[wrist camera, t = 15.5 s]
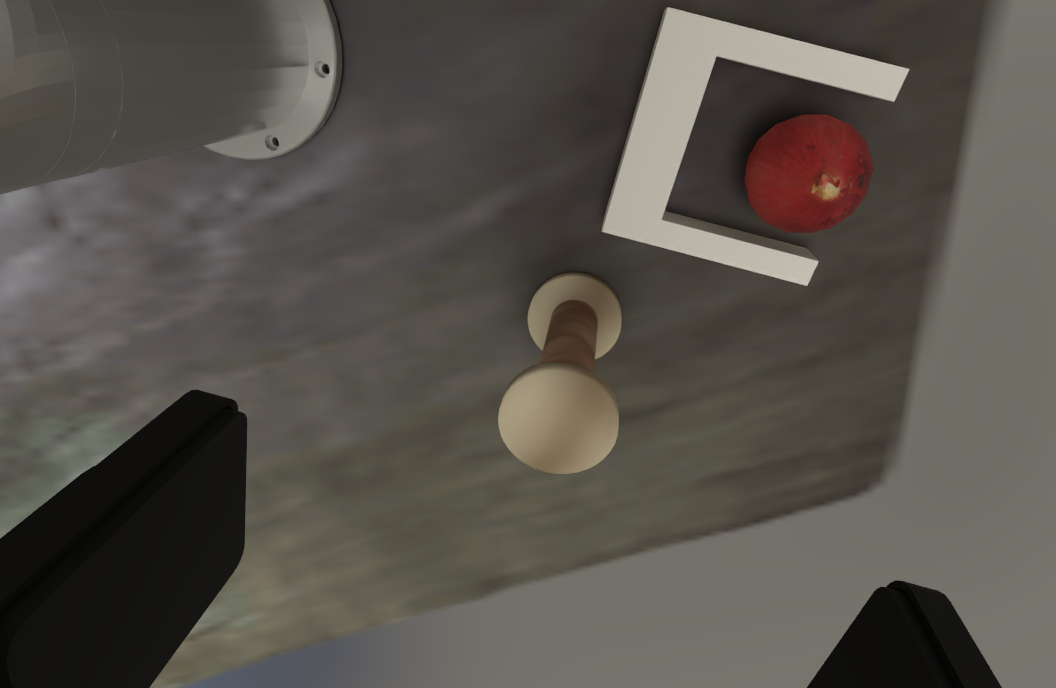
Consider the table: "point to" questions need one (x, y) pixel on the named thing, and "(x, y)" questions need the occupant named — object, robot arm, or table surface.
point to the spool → (565, 378)
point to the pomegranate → (808, 173)
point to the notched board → (670, 119)
